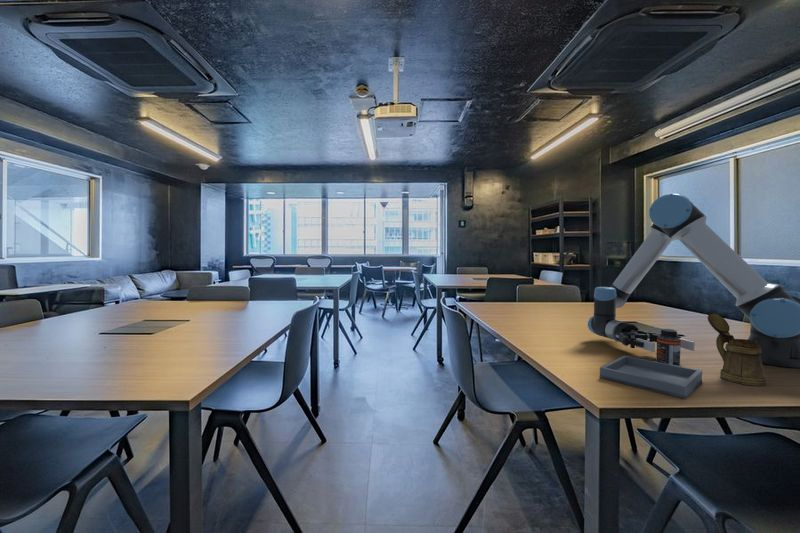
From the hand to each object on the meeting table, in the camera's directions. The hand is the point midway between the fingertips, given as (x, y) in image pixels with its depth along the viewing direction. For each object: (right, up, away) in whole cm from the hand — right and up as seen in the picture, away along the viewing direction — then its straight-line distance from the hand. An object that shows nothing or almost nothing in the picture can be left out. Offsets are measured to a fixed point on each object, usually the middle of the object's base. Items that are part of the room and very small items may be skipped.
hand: (673, 347), depth 109 cm
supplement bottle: (0, -7, +2) cm, 7 cm away
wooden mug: (+10, -7, -9) cm, 15 cm away
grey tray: (-15, -7, -11) cm, 19 cm away
